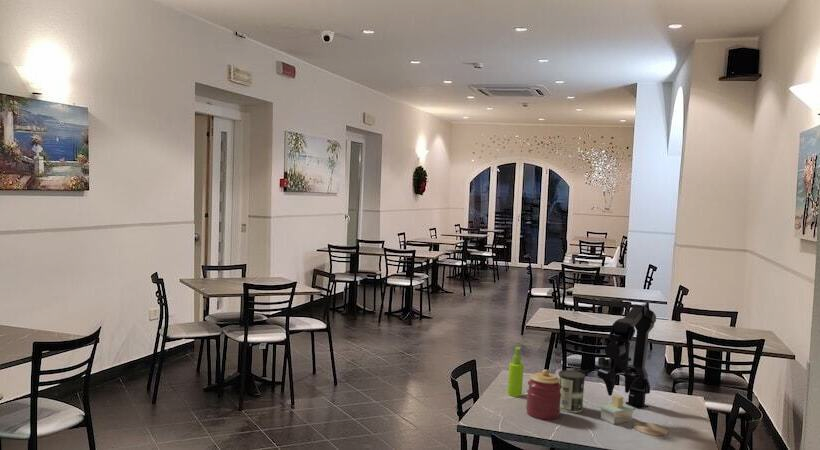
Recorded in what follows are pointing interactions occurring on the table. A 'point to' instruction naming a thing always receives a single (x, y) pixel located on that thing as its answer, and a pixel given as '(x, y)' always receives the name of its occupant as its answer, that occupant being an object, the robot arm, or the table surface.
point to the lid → (617, 405)
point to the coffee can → (571, 391)
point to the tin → (616, 417)
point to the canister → (544, 395)
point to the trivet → (650, 428)
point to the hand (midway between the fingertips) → (618, 394)
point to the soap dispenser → (515, 375)
